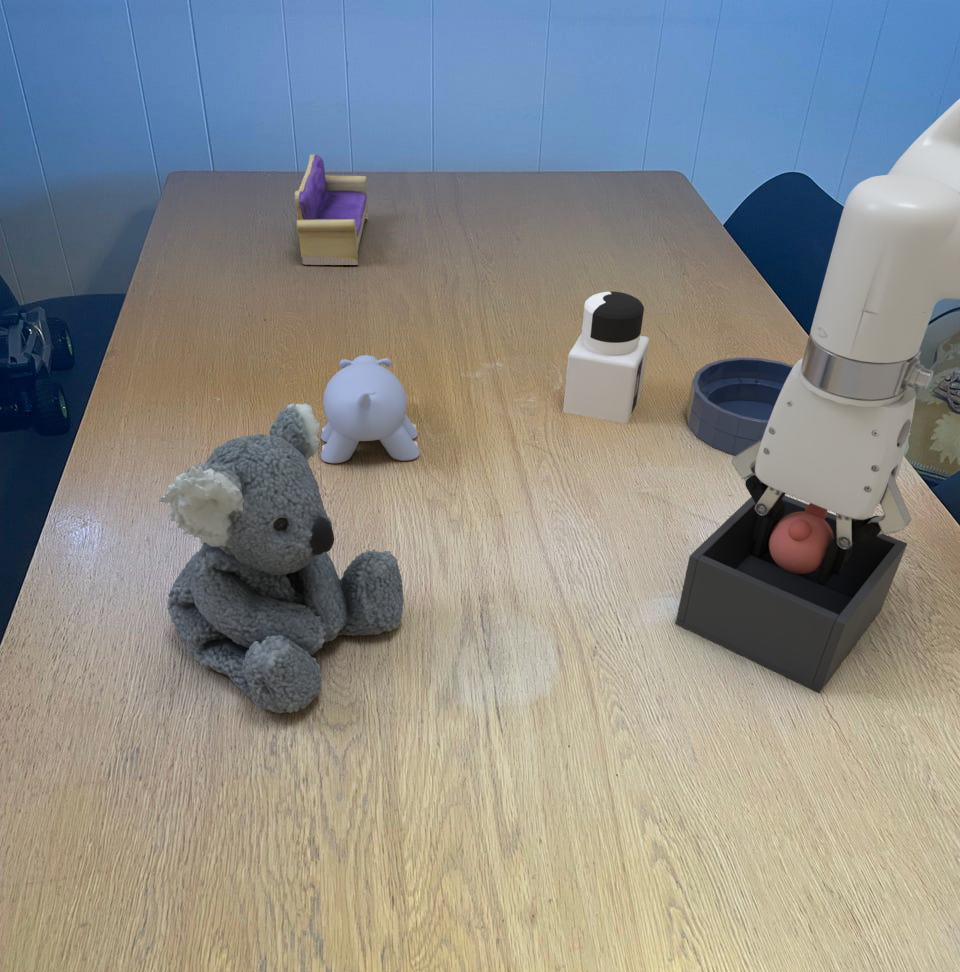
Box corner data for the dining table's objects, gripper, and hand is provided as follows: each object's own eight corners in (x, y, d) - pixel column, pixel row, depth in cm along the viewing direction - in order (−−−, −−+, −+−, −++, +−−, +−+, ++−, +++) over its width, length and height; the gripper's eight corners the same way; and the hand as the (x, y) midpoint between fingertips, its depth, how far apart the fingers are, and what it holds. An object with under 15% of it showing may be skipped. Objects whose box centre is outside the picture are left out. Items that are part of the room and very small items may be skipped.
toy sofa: (358, 268, 143) (354, 196, 136) (300, 267, 143) (292, 195, 136) (370, 219, 159) (366, 152, 152) (317, 218, 158) (311, 150, 152)
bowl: (841, 424, 112) (853, 385, 109) (784, 479, 103) (796, 438, 100) (723, 383, 119) (731, 345, 116) (661, 432, 110) (668, 392, 107)
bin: (880, 610, 87) (907, 543, 82) (819, 693, 79) (845, 624, 74) (744, 552, 93) (761, 485, 88) (674, 623, 85) (689, 555, 80)
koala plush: (290, 737, 74) (257, 531, 61) (126, 650, 81) (64, 448, 68) (418, 615, 85) (413, 418, 72) (264, 547, 92) (233, 356, 79)
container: (641, 397, 116) (656, 291, 107) (627, 427, 110) (642, 318, 102) (579, 385, 118) (589, 280, 109) (562, 415, 112) (571, 307, 103)
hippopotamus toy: (414, 403, 114) (412, 325, 107) (422, 472, 103) (420, 390, 96) (322, 406, 113) (314, 328, 106) (320, 476, 102) (311, 394, 95)
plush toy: (834, 564, 83) (853, 509, 79) (809, 594, 80) (827, 538, 76) (778, 541, 85) (794, 487, 81) (752, 569, 82) (767, 514, 78)
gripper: (992, 382, 68) (908, 582, 81) (771, 314, 76) (725, 506, 88) (957, 423, 64) (875, 627, 76) (726, 347, 72) (685, 544, 84)
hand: (795, 560), depth 82 cm, fingers closed on plush toy, 5 cm apart
